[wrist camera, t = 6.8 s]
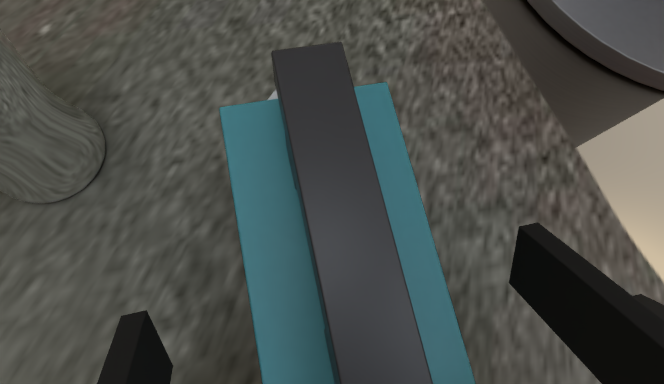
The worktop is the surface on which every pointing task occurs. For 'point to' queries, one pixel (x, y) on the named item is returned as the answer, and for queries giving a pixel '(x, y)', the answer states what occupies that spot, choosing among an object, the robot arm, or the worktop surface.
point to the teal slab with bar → (337, 233)
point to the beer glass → (42, 136)
